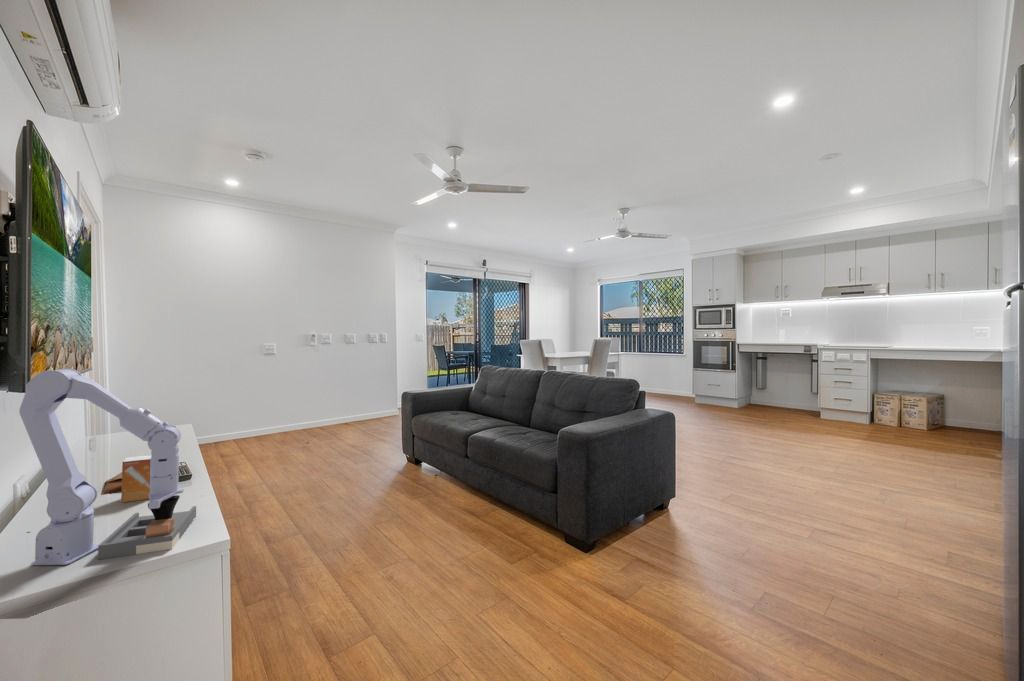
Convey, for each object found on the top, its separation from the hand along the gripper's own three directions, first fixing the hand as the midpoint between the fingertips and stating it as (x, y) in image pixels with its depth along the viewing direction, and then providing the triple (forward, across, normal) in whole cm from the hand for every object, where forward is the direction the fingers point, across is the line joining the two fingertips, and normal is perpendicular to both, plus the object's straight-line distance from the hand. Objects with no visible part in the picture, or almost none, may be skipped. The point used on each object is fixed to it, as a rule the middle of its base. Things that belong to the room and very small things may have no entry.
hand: (163, 527), depth 111 cm
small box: (+3, +39, +17) cm, 42 cm away
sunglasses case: (+4, +56, +28) cm, 63 cm away
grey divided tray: (+3, +3, +3) cm, 5 cm away
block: (+1, -4, 0) cm, 4 cm away
